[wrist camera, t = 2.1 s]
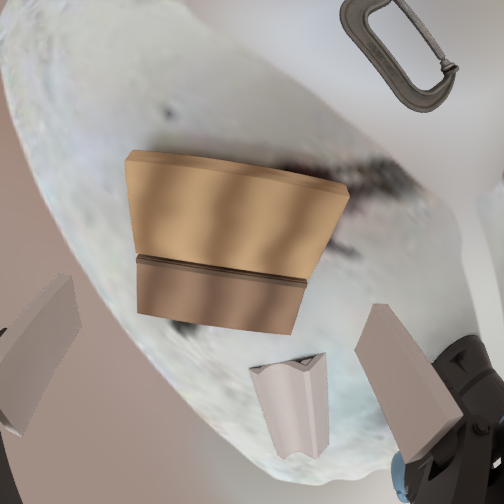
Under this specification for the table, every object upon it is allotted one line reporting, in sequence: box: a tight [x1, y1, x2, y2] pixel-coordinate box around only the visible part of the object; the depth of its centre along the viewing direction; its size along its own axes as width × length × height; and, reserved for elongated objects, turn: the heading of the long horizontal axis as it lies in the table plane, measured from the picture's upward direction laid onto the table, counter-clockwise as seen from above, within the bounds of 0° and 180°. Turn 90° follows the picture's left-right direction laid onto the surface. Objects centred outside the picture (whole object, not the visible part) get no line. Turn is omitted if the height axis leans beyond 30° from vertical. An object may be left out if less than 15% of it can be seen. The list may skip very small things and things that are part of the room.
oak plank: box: [125, 150, 350, 279], centre depth 28 cm, size 20×12×2 cm, turn 80°
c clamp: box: [340, 0, 459, 113], centre depth 23 cm, size 20×17×3 cm
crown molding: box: [249, 353, 329, 460], centre depth 46 cm, size 31×12×4 cm, turn 12°
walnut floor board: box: [136, 254, 307, 335], centre depth 35 cm, size 20×8×2 cm, turn 80°
